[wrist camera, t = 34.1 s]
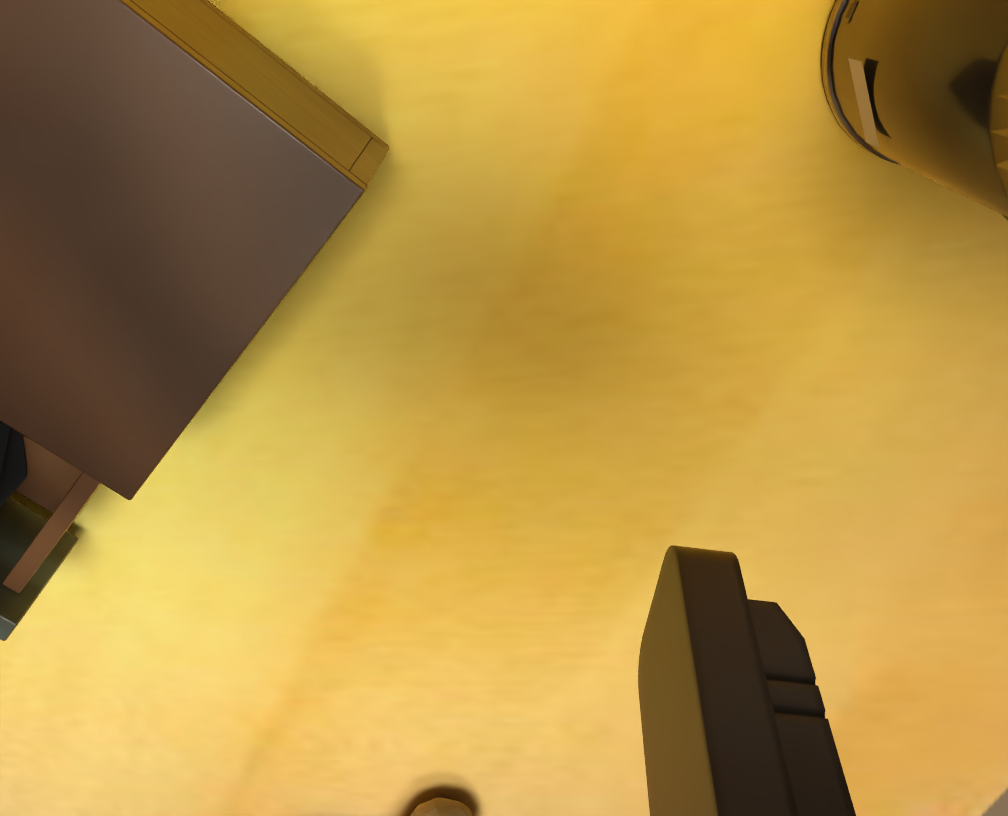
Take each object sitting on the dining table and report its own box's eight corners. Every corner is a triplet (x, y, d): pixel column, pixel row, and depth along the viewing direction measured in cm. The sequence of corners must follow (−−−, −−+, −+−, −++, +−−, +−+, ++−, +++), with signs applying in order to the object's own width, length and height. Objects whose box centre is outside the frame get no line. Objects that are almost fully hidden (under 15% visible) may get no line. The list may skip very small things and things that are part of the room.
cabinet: (192, 408, 45) (129, 501, 37) (-58, 243, 41) (-185, 307, 34) (389, 146, 40) (365, 190, 32) (124, -67, 37) (24, -75, 29)
